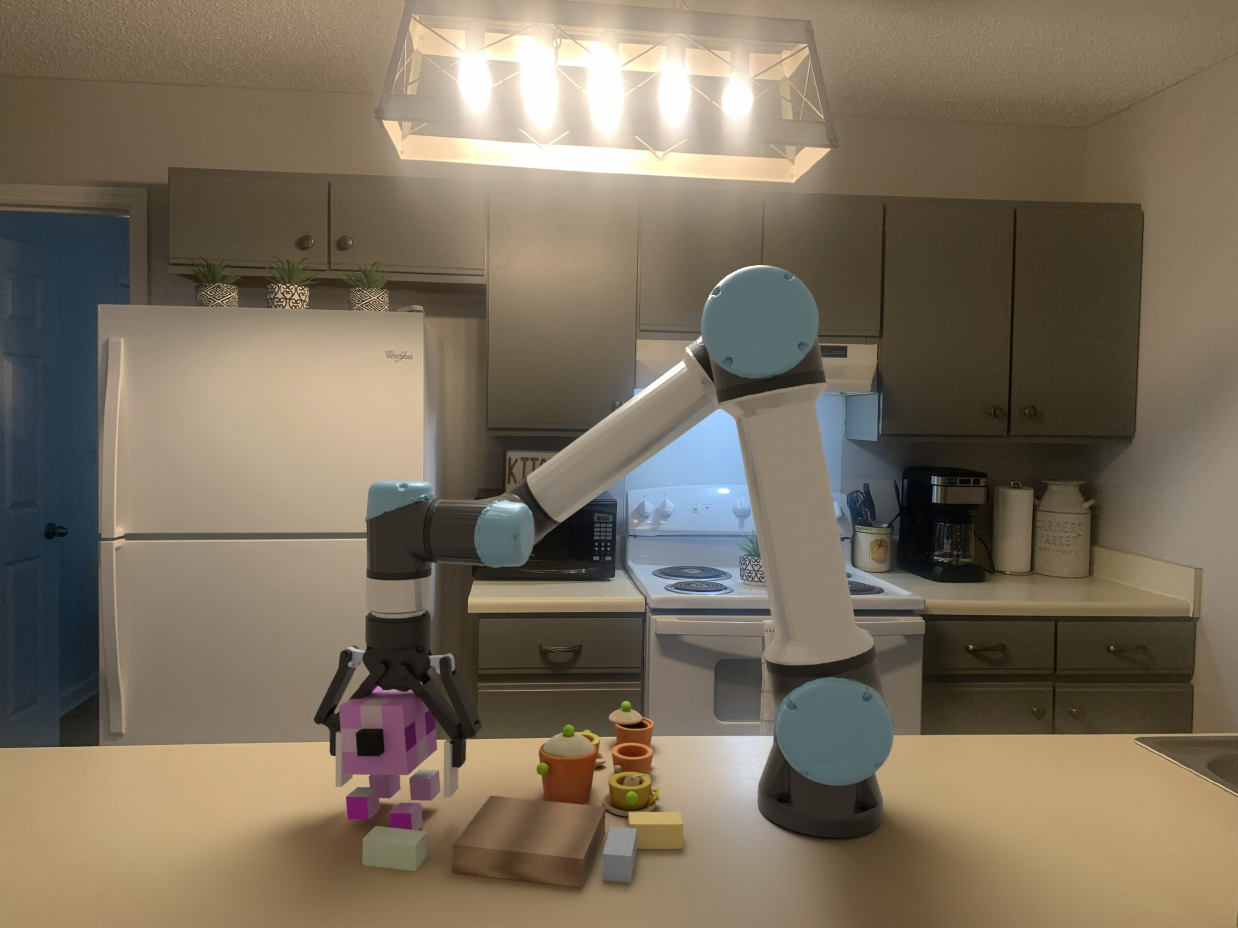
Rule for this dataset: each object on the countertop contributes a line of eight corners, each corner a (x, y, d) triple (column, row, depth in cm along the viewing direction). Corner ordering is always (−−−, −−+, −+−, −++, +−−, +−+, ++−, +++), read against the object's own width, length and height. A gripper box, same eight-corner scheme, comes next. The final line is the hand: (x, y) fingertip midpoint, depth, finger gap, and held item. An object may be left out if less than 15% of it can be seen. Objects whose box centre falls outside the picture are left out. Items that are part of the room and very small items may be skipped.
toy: (407, 841, 92) (397, 709, 92) (342, 839, 94) (332, 709, 93) (446, 800, 102) (437, 681, 102) (387, 799, 104) (378, 682, 104)
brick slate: (609, 852, 91) (610, 826, 91) (636, 854, 91) (636, 828, 91) (602, 881, 85) (602, 853, 85) (630, 884, 85) (631, 855, 85)
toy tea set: (658, 826, 98) (660, 746, 98) (530, 819, 99) (531, 740, 99) (662, 744, 124) (663, 681, 124) (560, 740, 125) (561, 677, 125)
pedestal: (605, 832, 96) (605, 806, 96) (582, 887, 84) (583, 858, 84) (490, 819, 98) (490, 795, 98) (452, 872, 86) (452, 844, 86)
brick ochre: (679, 837, 95) (680, 811, 95) (682, 850, 92) (683, 824, 92) (627, 837, 95) (628, 811, 95) (629, 850, 92) (629, 823, 92)
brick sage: (426, 858, 89) (427, 831, 89) (415, 872, 86) (415, 844, 86) (375, 852, 90) (375, 825, 90) (362, 866, 88) (362, 838, 87)
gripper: (509, 610, 99) (506, 783, 99) (318, 598, 103) (317, 765, 104) (489, 624, 91) (486, 811, 92) (284, 611, 96) (283, 790, 96)
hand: (396, 787), depth 98 cm, fingers open, 13 cm apart
